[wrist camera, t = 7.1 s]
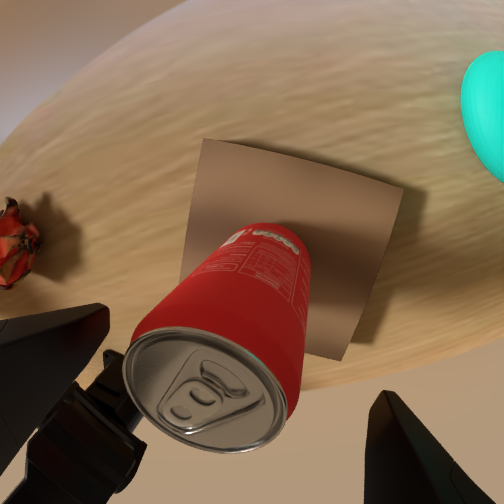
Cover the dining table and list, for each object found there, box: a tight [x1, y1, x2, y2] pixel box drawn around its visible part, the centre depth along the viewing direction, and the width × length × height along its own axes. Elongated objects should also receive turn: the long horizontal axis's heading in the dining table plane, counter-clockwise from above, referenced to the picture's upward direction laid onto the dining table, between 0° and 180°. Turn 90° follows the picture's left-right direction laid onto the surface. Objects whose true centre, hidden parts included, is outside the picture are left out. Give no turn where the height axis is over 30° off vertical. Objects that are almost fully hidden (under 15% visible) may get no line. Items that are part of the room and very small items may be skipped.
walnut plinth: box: [179, 138, 404, 361], centre depth 20 cm, size 12×12×2 cm
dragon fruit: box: [0, 197, 43, 290], centre depth 23 cm, size 8×8×12 cm
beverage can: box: [123, 223, 311, 454], centre depth 13 cm, size 5×5×12 cm
